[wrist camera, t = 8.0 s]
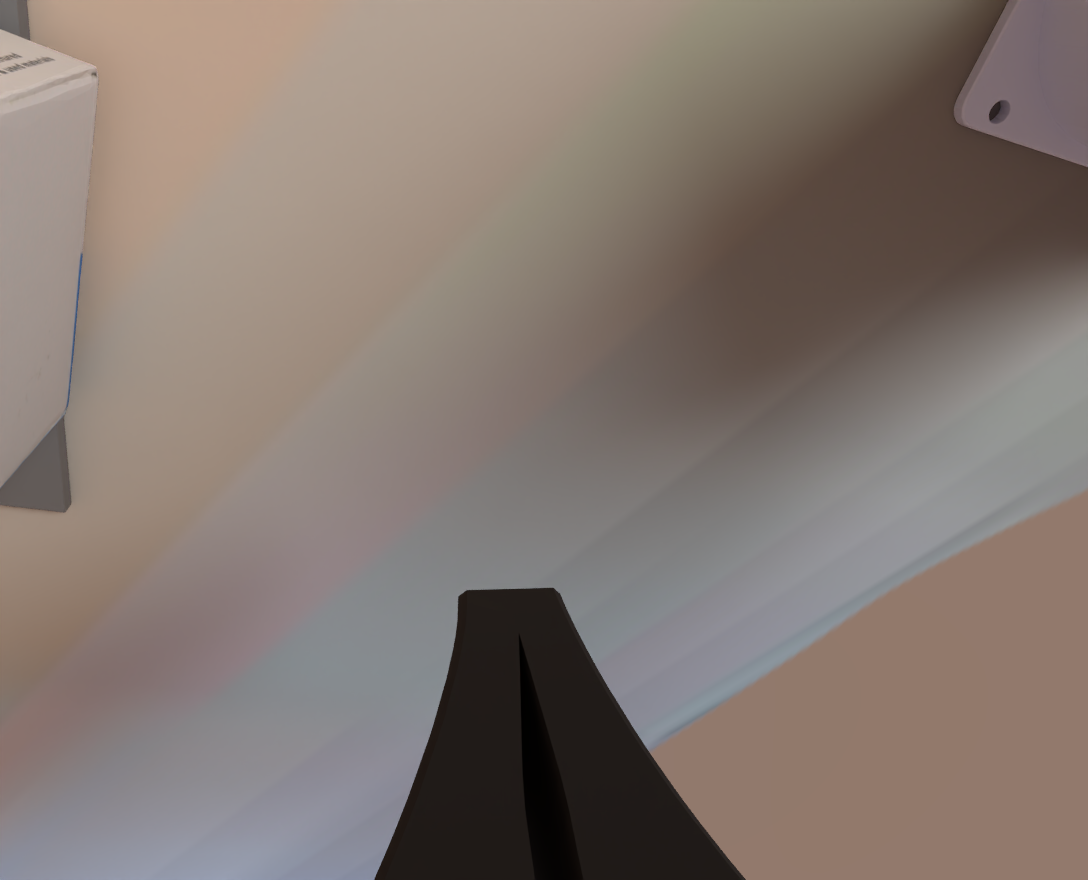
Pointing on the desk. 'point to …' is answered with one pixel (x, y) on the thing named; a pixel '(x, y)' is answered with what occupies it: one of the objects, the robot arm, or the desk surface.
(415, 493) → the desk surface
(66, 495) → the mat
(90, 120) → the ink box
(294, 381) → the desk surface
